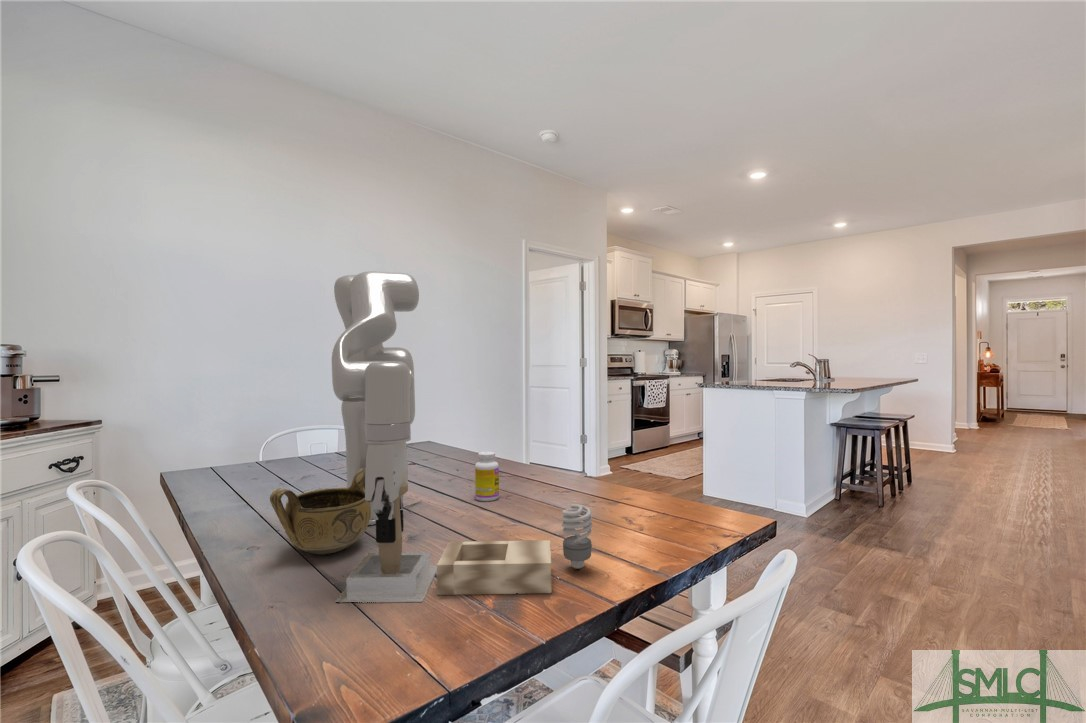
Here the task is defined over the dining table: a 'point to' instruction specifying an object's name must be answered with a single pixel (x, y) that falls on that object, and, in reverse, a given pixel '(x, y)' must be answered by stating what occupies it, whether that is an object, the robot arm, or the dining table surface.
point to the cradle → (390, 580)
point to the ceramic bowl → (324, 516)
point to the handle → (393, 551)
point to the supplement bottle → (486, 477)
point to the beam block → (495, 568)
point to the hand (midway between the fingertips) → (390, 536)
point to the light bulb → (577, 535)
